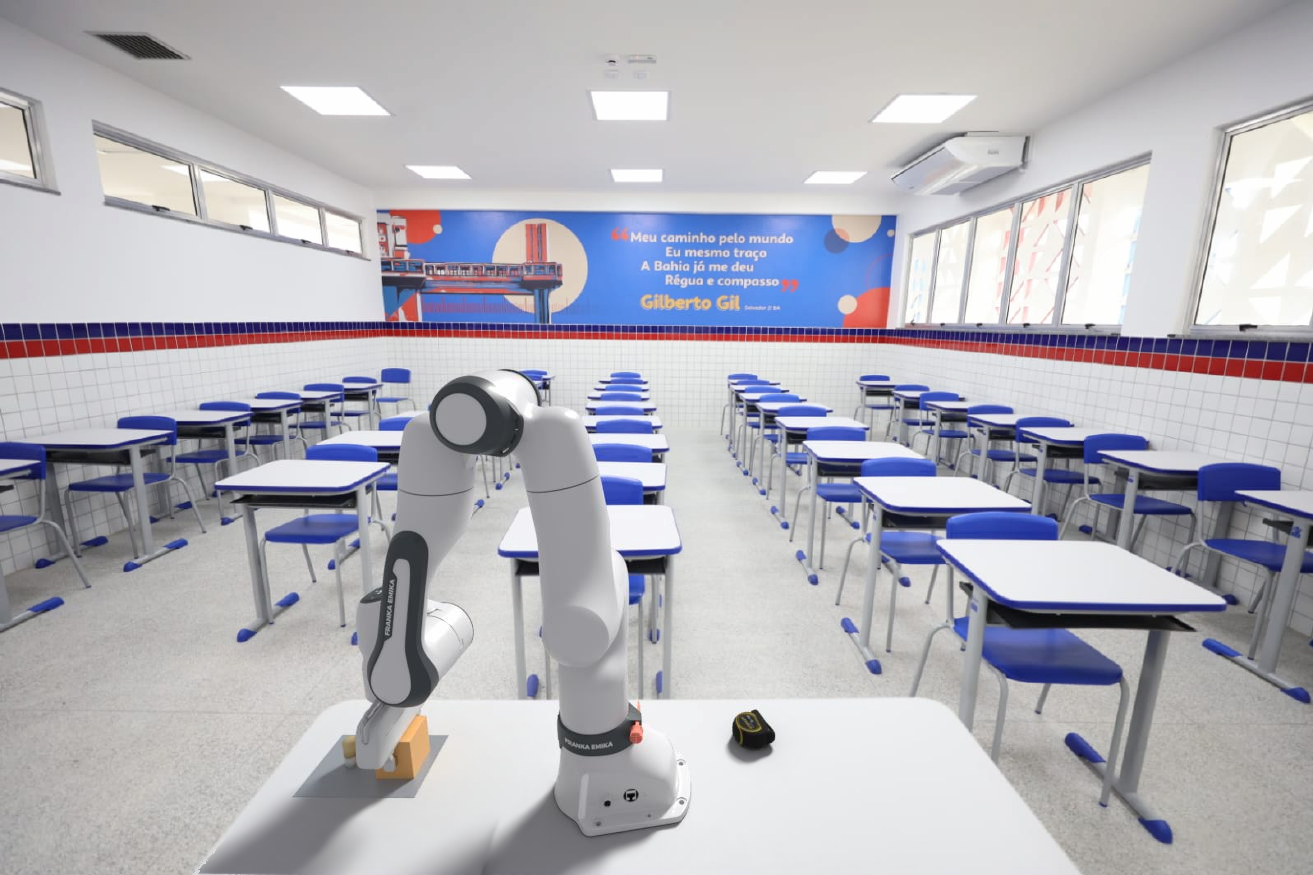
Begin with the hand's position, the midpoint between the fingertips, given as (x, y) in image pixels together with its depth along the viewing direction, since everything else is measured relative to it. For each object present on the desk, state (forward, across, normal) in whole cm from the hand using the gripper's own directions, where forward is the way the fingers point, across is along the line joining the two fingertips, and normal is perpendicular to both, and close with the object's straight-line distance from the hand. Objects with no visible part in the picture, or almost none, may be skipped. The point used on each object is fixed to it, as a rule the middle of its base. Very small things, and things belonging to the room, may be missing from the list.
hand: (402, 750), depth 97 cm
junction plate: (+4, 0, +5) cm, 6 cm away
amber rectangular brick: (+3, 0, 0) cm, 3 cm away
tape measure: (+5, +9, -61) cm, 62 cm away
